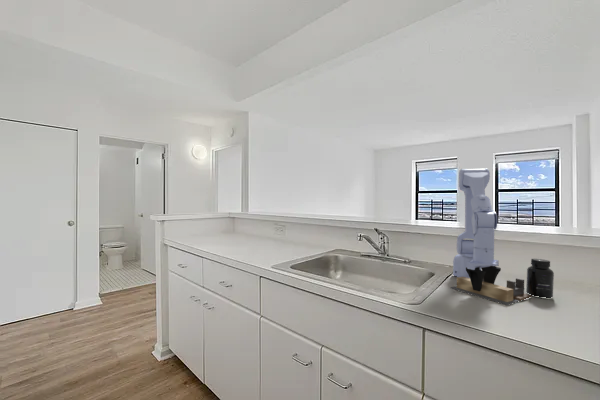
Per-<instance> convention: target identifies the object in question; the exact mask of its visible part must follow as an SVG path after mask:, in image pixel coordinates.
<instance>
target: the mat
mask: <svg viewBox="0 0 600 400" xmlns="http://www.w3.org/2000/svg"><path fill="white" fill-rule="evenodd" d="M451 288H452V289H451ZM450 289H451V290H455V291H458V290H459V292H461V291H462V293H465V292H466V293H465V294H468V293H469V294H468V295H471V294H472V296H474V295H476V296H475V297H478V296H479V298H481V297H482V299H484V298H485V300H488V299H489V300H488V301H491V300H492V301H491V302H494V301H495V303H498V302H499V303H498V304H501V303H502V305H504V304H505V306H509V304H510V305H513V304H512V303H514V304H516V303H515V302H517V303H519V302H520V301H519V300H516V299H513V301H509V302H505V301H501V300H498V299H495V298H491V297H488V296H484V295H481V294H477V293H474V292H471V291H467V290H464V289H460V288H457V285H455V286H450ZM518 301H519V302H518Z"/></svg>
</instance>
